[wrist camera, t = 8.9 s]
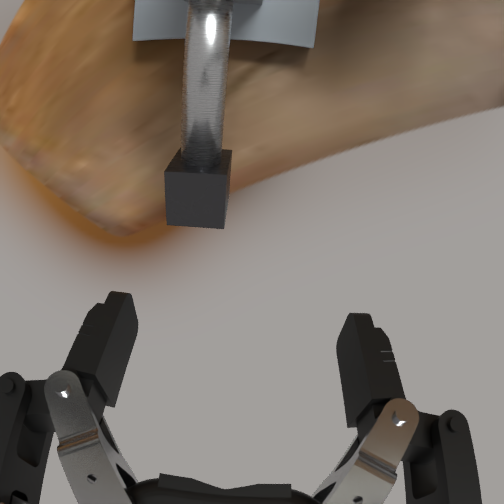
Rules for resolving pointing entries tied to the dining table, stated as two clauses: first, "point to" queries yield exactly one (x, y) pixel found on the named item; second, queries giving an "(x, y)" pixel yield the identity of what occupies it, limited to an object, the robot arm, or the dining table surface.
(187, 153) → the shaft
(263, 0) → the bracket
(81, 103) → the dining table surface
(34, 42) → the dining table surface
